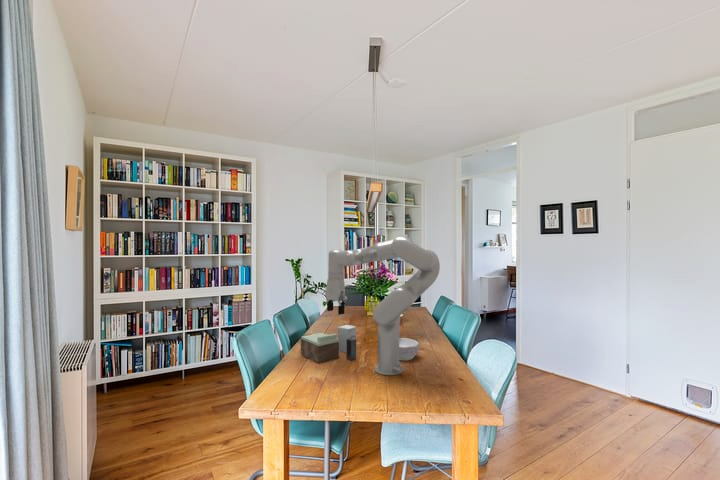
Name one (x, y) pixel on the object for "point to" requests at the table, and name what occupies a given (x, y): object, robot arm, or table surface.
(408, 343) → the paper bowls
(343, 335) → the supplement box
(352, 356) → the dark grey tall block
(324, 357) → the box
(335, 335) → the lid
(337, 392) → the table surface
